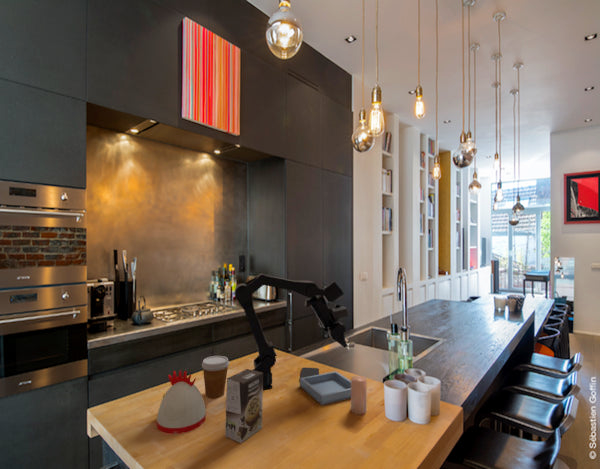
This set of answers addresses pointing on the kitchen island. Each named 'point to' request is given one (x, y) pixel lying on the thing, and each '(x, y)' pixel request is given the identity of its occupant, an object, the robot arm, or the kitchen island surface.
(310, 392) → the tray
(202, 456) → the kitchen island surface
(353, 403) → the tan rounded glossy part
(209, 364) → the disposable coffee cup
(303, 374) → the phone
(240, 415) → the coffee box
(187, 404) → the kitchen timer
